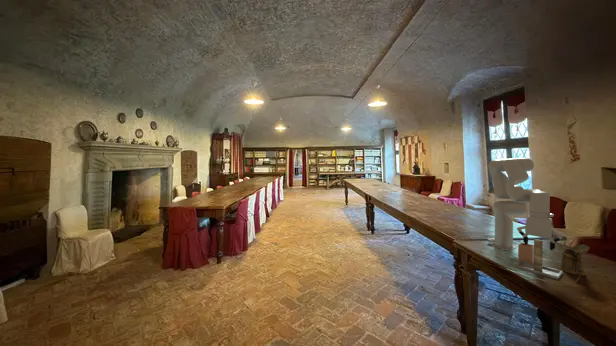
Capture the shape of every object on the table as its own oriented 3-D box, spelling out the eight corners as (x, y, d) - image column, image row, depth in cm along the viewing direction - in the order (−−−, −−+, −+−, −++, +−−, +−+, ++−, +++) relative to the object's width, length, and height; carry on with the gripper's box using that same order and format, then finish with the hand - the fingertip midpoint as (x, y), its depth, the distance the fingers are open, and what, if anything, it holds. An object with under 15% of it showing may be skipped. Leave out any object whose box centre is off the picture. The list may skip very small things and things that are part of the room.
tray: (515, 268, 125) (515, 264, 125) (521, 264, 130) (521, 260, 130) (558, 281, 111) (558, 276, 111) (562, 275, 117) (562, 270, 117)
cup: (518, 261, 133) (518, 244, 133) (521, 259, 137) (521, 242, 136) (532, 265, 128) (532, 247, 128) (535, 262, 131) (535, 245, 131)
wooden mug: (570, 278, 114) (570, 242, 113) (555, 266, 126) (555, 234, 125) (595, 281, 110) (596, 245, 109) (578, 269, 122) (578, 236, 121)
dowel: (534, 267, 123) (535, 238, 122) (543, 270, 120) (543, 240, 119) (533, 269, 121) (533, 240, 120) (541, 272, 119) (541, 241, 118)
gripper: (565, 216, 114) (564, 250, 115) (519, 211, 129) (519, 240, 129) (561, 219, 110) (561, 253, 111) (515, 213, 125) (514, 243, 125)
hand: (538, 246), depth 120 cm, fingers open, 9 cm apart
